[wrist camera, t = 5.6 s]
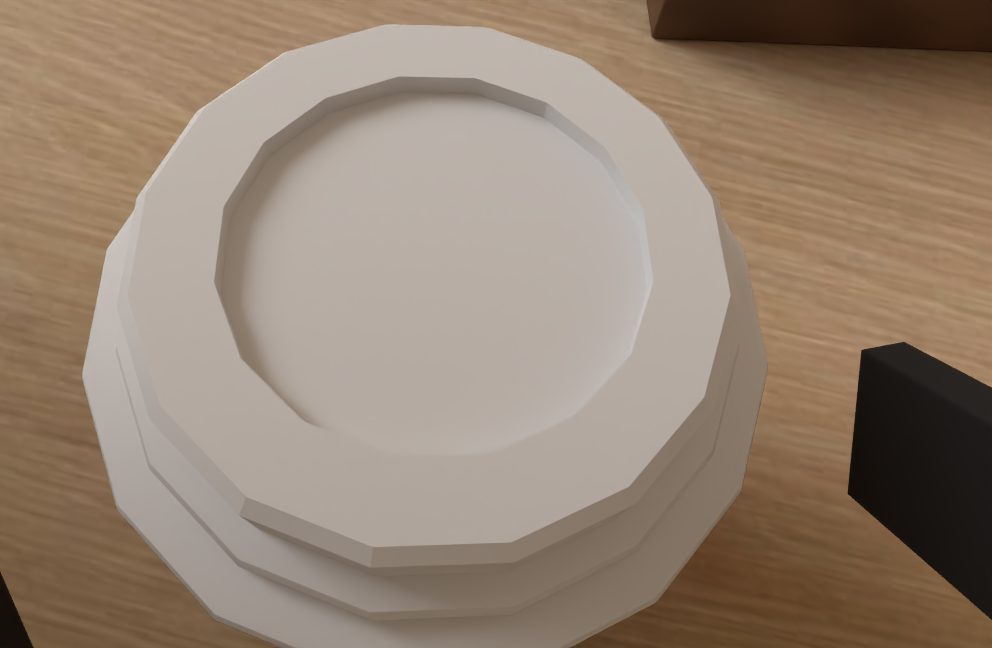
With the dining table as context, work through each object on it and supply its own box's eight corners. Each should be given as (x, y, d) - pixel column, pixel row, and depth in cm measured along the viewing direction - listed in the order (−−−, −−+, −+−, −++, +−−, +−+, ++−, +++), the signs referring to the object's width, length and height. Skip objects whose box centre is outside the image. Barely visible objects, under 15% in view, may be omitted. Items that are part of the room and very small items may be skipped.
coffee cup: (476, 262, 22) (519, -124, 11) (678, 517, 19) (997, 341, 8) (192, 433, 19) (-125, 144, 8) (382, 756, 17) (282, 959, 6)
